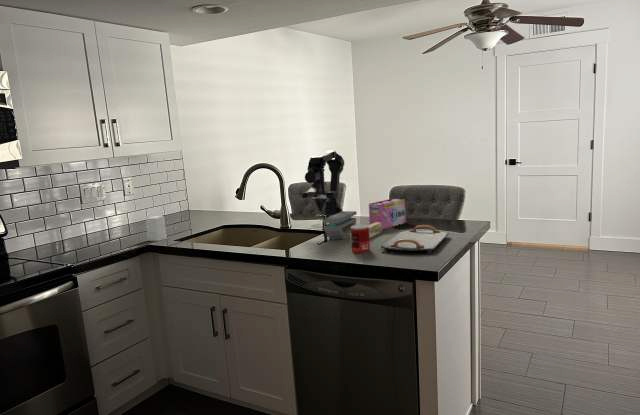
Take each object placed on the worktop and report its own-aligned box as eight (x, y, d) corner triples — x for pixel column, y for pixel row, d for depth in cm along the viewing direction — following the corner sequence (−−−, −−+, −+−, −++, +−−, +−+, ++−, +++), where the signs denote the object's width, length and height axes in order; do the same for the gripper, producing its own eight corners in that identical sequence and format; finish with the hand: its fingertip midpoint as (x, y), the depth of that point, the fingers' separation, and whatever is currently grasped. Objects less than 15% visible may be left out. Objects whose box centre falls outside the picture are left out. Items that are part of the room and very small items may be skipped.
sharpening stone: (343, 231, 253) (342, 211, 252) (357, 231, 250) (356, 211, 249) (323, 241, 231) (322, 219, 230) (338, 242, 228) (337, 219, 226)
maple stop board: (350, 244, 222) (349, 233, 221) (376, 231, 247) (375, 222, 246) (356, 244, 220) (355, 234, 219) (381, 231, 246) (381, 222, 245)
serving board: (432, 257, 191) (432, 242, 190) (377, 254, 201) (376, 240, 200) (451, 237, 225) (450, 224, 224) (403, 235, 235) (402, 223, 235)
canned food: (371, 249, 209) (370, 224, 208) (367, 253, 202) (366, 228, 200) (354, 249, 212) (353, 224, 210) (349, 253, 204) (348, 228, 203)
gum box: (396, 221, 273) (395, 197, 271) (408, 222, 267) (407, 198, 265) (369, 228, 257) (368, 203, 255) (381, 230, 251) (379, 204, 249)
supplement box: (167, 238, 268) (164, 215, 266) (157, 241, 261) (155, 218, 260) (157, 237, 271) (154, 215, 269) (147, 240, 264) (144, 218, 263)
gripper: (294, 183, 240) (296, 213, 242) (327, 182, 231) (329, 214, 233) (306, 180, 250) (308, 210, 252) (337, 180, 240) (339, 210, 242)
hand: (320, 211), depth 244 cm, fingers closed
